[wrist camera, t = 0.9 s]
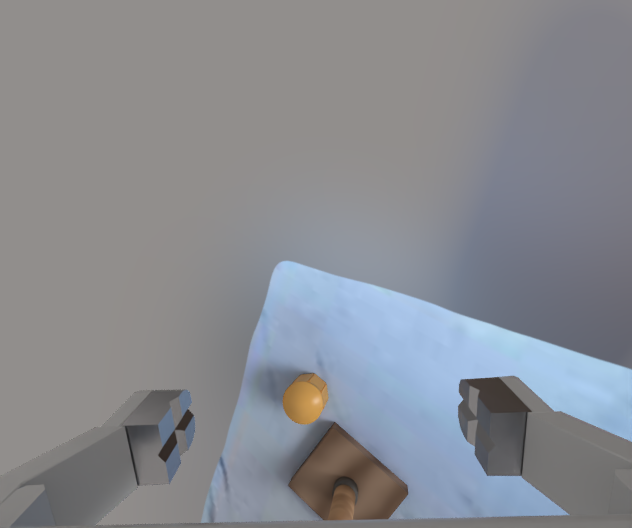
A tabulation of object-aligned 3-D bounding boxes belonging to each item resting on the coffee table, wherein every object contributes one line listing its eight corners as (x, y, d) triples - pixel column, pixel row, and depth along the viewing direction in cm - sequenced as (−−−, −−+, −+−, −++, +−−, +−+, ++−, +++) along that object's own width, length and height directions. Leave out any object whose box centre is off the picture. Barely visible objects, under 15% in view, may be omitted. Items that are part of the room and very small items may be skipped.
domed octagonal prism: (335, 390, 51) (330, 401, 46) (313, 419, 52) (306, 433, 47) (306, 365, 53) (298, 373, 48) (284, 394, 53) (275, 404, 48)
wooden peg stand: (407, 485, 48) (412, 529, 39) (360, 544, 49) (355, 600, 40) (334, 422, 51) (324, 449, 42) (291, 478, 52) (273, 517, 43)
